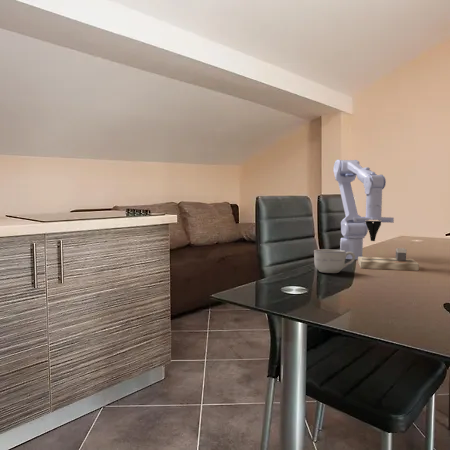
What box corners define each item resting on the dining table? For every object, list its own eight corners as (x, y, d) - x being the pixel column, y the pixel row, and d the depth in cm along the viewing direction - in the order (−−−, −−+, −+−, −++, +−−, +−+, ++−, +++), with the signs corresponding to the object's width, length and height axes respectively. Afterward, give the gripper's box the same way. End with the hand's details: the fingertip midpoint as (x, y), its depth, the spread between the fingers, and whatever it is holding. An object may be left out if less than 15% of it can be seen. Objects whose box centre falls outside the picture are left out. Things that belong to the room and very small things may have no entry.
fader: (397, 260, 151) (397, 249, 150) (395, 258, 155) (395, 247, 154) (406, 260, 150) (406, 249, 150) (403, 259, 154) (404, 248, 154)
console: (360, 268, 150) (360, 261, 150) (357, 262, 162) (358, 256, 162) (418, 270, 146) (418, 263, 145) (411, 265, 157) (411, 258, 157)
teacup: (309, 273, 141) (310, 250, 140) (318, 268, 150) (318, 247, 149) (350, 277, 134) (351, 253, 133) (356, 271, 144) (357, 249, 143)
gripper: (354, 206, 154) (354, 241, 155) (395, 206, 150) (394, 242, 151) (353, 205, 161) (352, 239, 162) (392, 205, 157) (391, 240, 158)
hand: (372, 240), depth 157 cm, fingers closed
